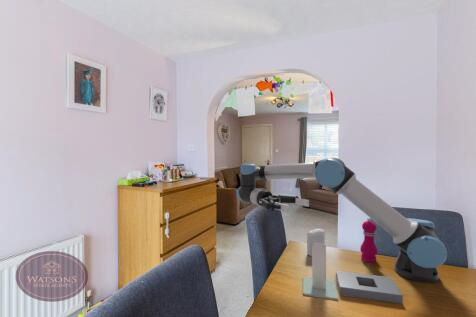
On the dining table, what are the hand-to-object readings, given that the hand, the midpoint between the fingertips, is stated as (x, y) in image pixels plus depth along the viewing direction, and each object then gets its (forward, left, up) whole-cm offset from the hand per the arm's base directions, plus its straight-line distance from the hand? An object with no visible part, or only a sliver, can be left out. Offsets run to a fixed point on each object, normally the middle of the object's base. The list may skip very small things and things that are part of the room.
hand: (298, 205), depth 99 cm
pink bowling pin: (-32, -25, -30) cm, 51 cm away
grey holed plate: (-25, +2, -30) cm, 39 cm away
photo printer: (-8, -26, -30) cm, 41 cm away
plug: (-8, +6, -29) cm, 31 cm away
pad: (-8, +6, -30) cm, 32 cm away
